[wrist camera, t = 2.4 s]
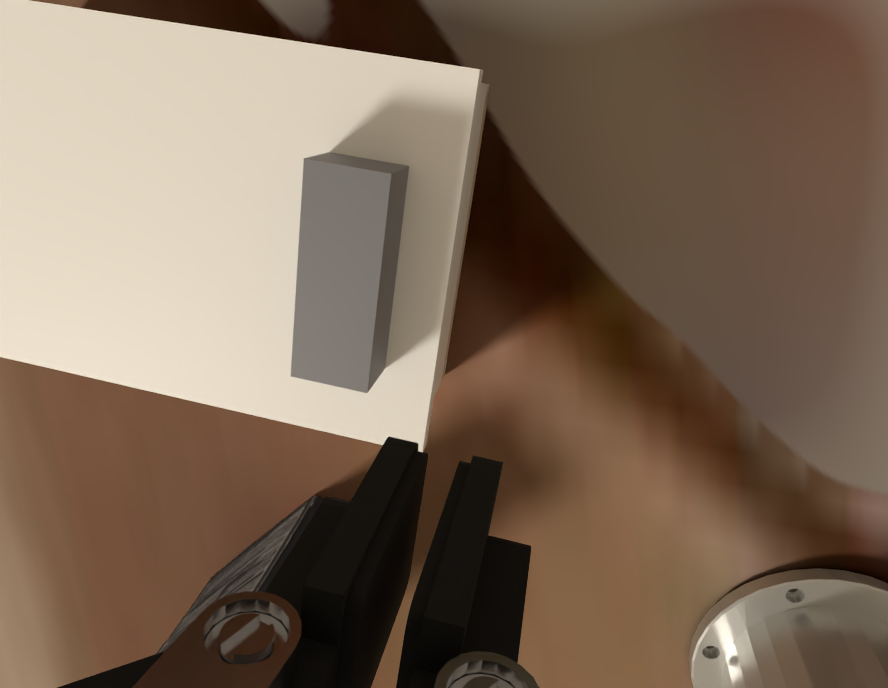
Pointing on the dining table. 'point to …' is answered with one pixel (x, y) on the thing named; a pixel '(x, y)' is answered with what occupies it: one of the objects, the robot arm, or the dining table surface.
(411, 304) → the lid
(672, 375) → the dining table surface
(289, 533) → the small box
